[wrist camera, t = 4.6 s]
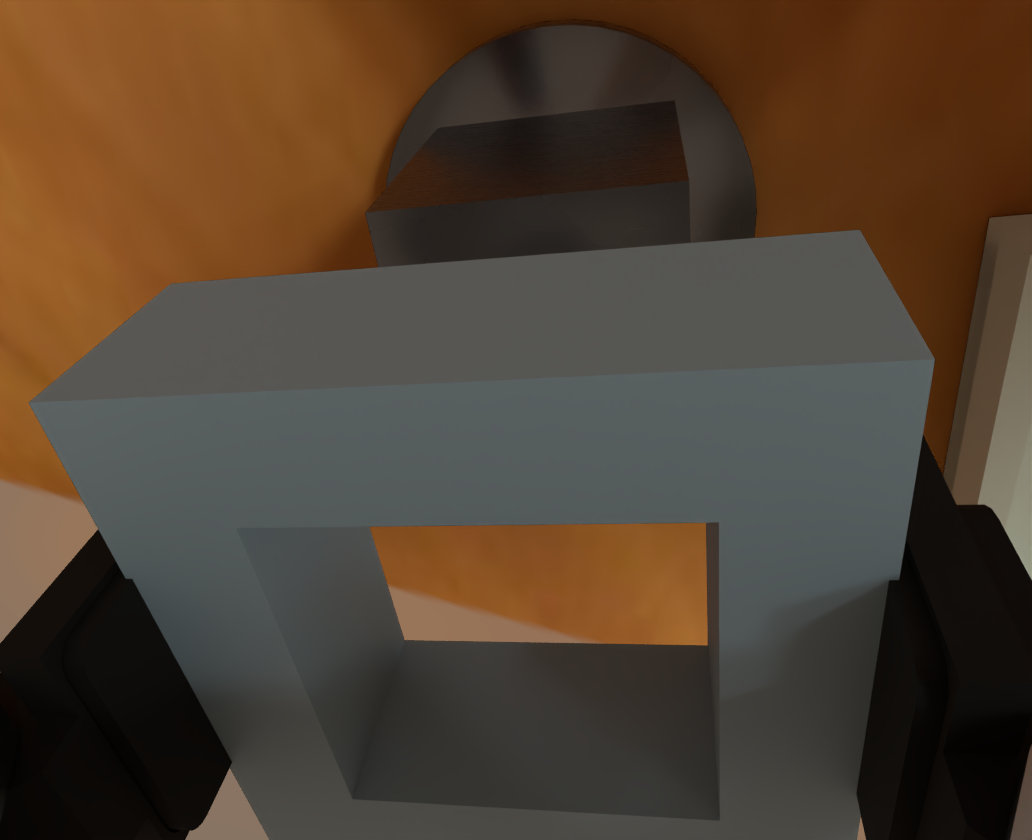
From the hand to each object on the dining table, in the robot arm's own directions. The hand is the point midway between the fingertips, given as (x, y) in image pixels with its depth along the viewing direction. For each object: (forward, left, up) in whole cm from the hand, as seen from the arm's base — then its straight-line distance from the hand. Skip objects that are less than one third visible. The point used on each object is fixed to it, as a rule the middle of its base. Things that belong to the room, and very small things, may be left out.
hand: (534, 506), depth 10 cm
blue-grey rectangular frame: (0, 0, 0) cm, 0 cm away
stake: (0, 0, -12) cm, 12 cm away
